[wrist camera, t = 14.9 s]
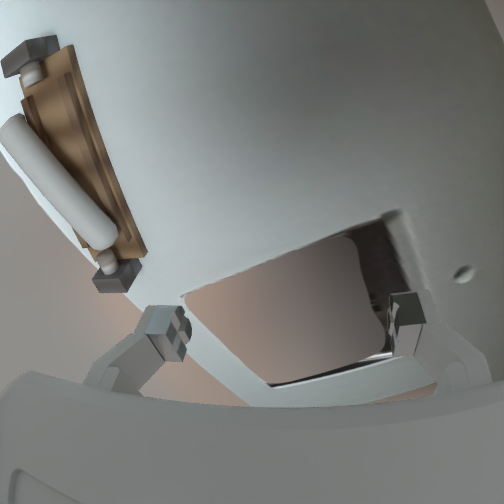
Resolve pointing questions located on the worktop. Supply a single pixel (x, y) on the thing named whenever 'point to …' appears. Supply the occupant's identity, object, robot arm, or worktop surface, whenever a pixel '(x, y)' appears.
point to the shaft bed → (77, 148)
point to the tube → (57, 183)
